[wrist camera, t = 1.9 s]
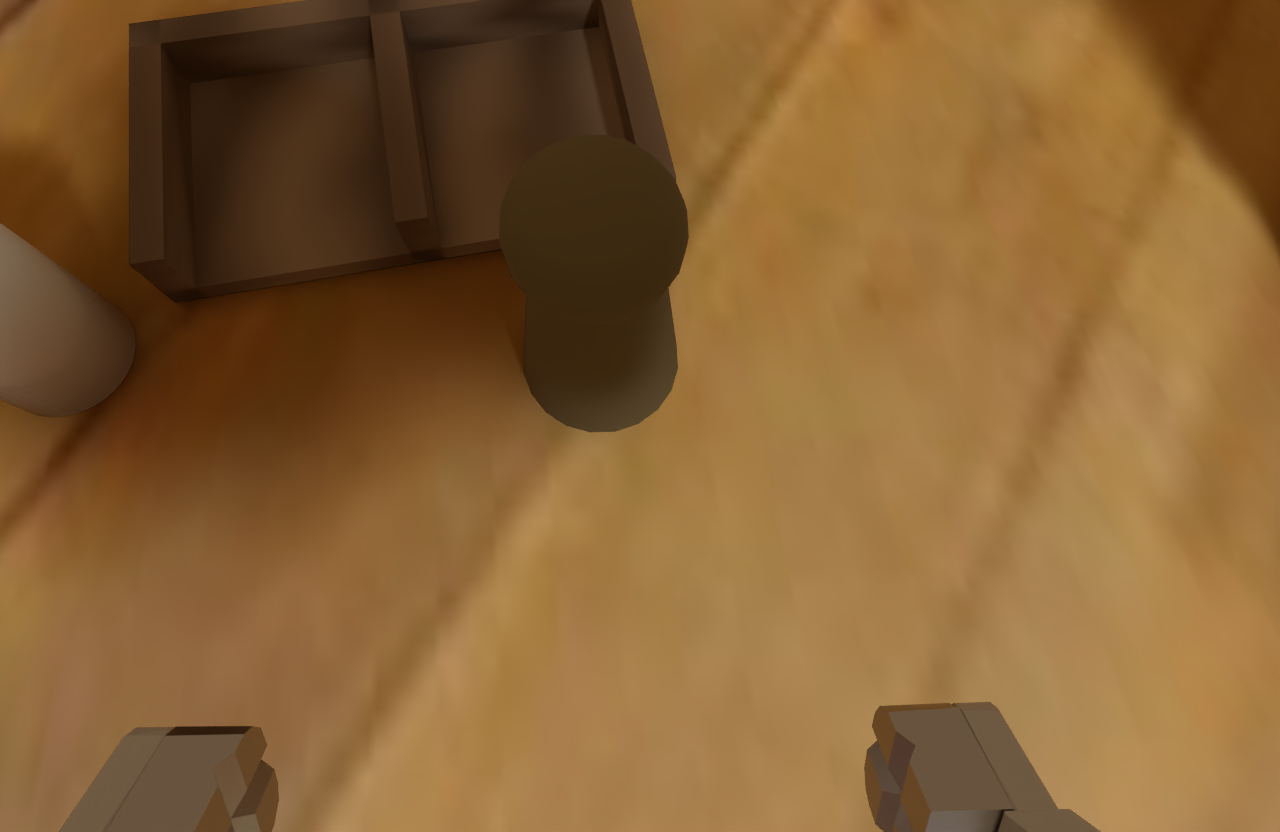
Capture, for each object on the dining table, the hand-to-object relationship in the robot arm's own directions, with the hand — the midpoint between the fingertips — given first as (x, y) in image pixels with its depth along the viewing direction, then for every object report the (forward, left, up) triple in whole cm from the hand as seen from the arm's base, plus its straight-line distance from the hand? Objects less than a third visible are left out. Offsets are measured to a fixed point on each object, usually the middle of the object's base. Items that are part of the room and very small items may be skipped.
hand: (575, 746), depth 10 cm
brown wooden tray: (+4, -23, -17) cm, 29 cm away
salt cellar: (+18, -16, -17) cm, 29 cm away
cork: (-2, -12, -17) cm, 21 cm away
